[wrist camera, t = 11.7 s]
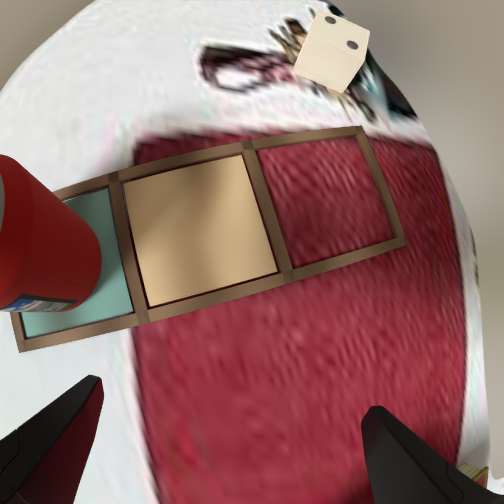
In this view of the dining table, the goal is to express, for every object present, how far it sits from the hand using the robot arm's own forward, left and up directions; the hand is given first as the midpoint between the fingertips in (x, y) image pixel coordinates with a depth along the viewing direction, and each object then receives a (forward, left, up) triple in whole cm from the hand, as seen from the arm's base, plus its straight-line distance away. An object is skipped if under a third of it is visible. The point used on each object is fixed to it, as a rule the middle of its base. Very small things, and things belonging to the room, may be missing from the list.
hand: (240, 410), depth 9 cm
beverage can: (-3, +12, -11) cm, 17 cm away
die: (+25, +9, -12) cm, 29 cm away
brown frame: (+6, +7, -11) cm, 14 cm away
